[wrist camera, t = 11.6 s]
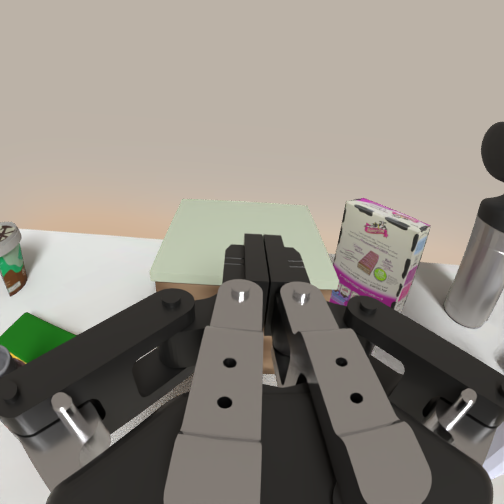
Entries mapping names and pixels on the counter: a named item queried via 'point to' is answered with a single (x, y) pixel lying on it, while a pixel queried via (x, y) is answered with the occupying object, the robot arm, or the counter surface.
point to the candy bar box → (377, 253)
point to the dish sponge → (32, 338)
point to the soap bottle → (496, 454)
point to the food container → (11, 258)
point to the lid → (236, 240)
